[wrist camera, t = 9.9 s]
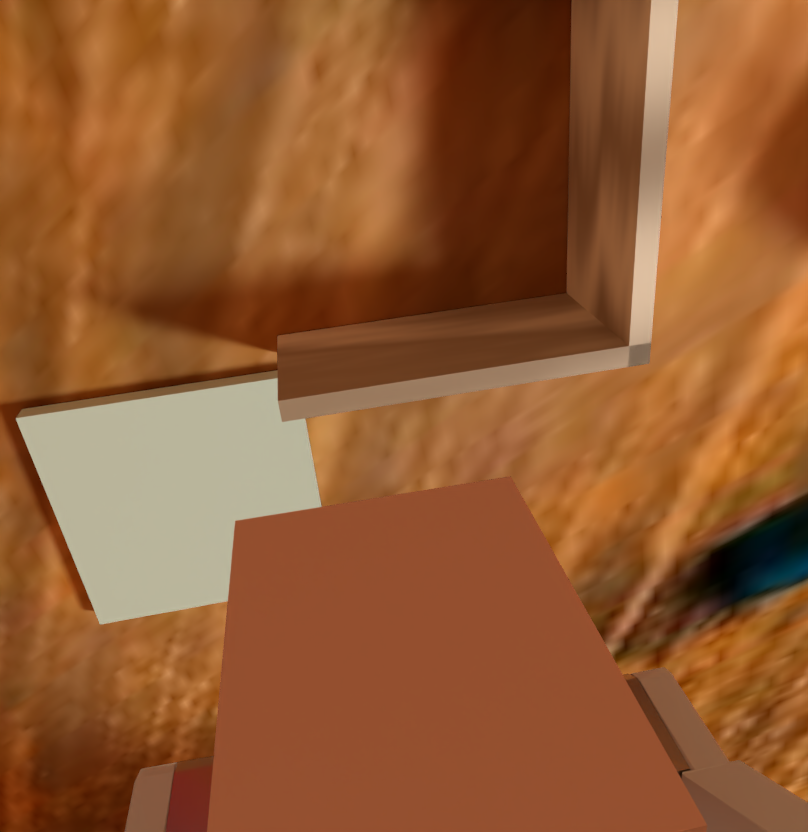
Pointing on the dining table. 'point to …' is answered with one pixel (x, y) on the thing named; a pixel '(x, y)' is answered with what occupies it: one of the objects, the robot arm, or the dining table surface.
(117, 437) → the green mat
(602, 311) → the open box
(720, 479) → the dining table surface
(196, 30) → the dining table surface
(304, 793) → the block
